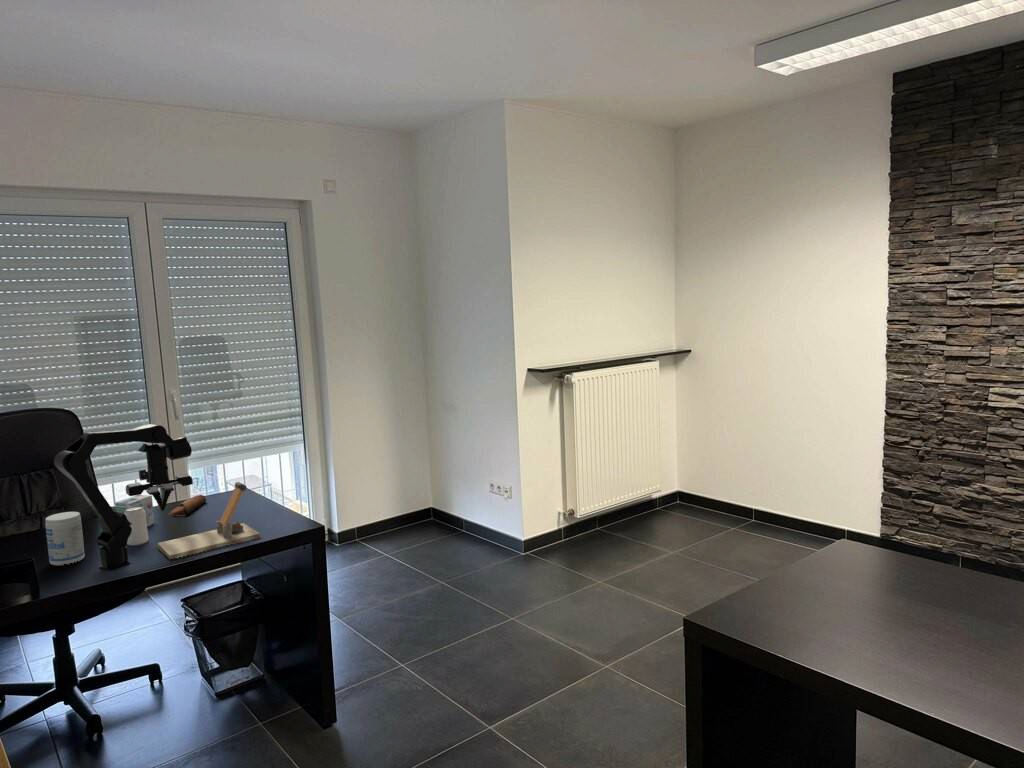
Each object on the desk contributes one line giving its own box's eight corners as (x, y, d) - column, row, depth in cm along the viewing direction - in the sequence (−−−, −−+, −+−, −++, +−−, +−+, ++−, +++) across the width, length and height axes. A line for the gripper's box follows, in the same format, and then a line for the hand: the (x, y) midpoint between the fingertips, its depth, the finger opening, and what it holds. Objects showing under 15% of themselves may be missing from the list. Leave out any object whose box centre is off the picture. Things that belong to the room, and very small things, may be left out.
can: (132, 547, 236) (128, 512, 234) (123, 544, 239) (119, 509, 238) (152, 541, 241) (148, 507, 239) (143, 538, 245) (139, 504, 243)
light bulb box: (131, 533, 251) (128, 503, 250) (117, 531, 253) (113, 502, 252) (155, 523, 261) (152, 494, 260) (141, 522, 263) (138, 494, 262)
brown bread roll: (185, 503, 286) (192, 489, 286) (201, 511, 287) (208, 497, 286) (165, 517, 268) (172, 501, 268) (182, 525, 269) (189, 510, 268)
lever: (223, 525, 236) (242, 484, 239) (217, 521, 241) (236, 481, 244) (229, 527, 237) (247, 486, 240) (223, 523, 242) (241, 482, 245)
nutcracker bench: (170, 560, 222) (168, 543, 221) (157, 547, 234) (155, 531, 234) (260, 537, 239) (258, 521, 238) (243, 527, 252) (242, 512, 251)
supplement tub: (43, 567, 221) (37, 521, 219) (60, 556, 230) (55, 512, 228) (75, 565, 221) (69, 519, 219) (91, 554, 231) (86, 510, 229)
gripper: (181, 454, 240) (186, 499, 242) (119, 464, 229) (125, 512, 231) (190, 459, 232) (195, 506, 234) (126, 470, 220) (132, 519, 222)
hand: (162, 510), depth 230 cm, fingers closed
